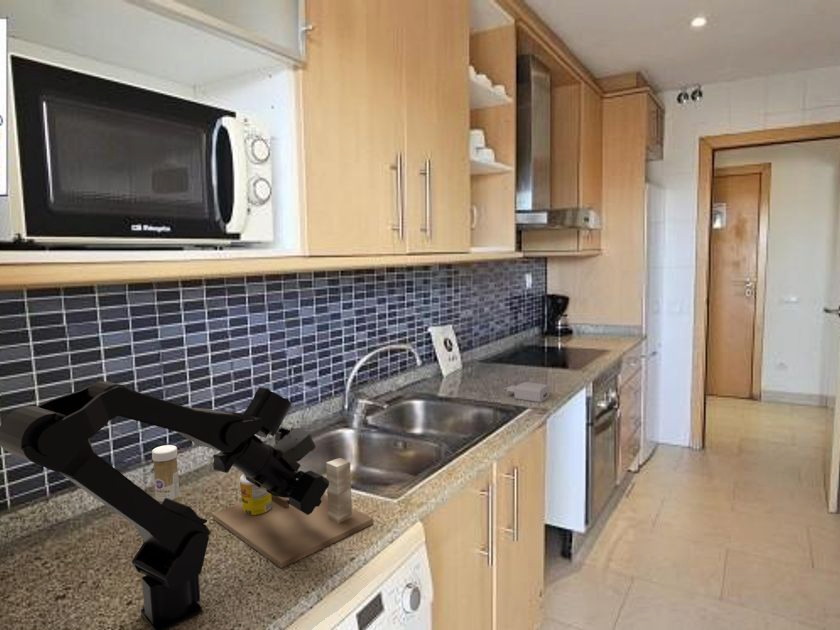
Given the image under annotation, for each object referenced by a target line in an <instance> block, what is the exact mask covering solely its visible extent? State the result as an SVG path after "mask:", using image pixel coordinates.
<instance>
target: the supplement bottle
mask: <svg viewBox="0 0 840 630" xmlns="http://www.w3.org/2000/svg"><path fill="white" fill-rule="evenodd" d="M242 473H243V472H242ZM239 485H240V496H241V503H242V505H243V512H244V514H246V515H250V516H257V515H262V514H265V513H267V512H269V511H270V510H271V509H272V499H271V494H270V493H268V492H267V489H265V488H264V487H262V486H261V487H260V488H259V487H257V486H255V485H254V484H252V483H251V482H249V481H248V480H246V475H244V473H243V474H242V475H241V476H240V478H239Z"/></svg>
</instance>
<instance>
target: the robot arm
mask: <svg viewBox="0 0 840 630" xmlns="http://www.w3.org/2000/svg"><path fill="white" fill-rule="evenodd" d="M292 407H293V405H292V402H290V400H289V399H288V398H286V397H283V396H281V395H279V394H278V393H276V392H274V391H271V389H269V388H268V387H263V386H259V387H258V389H257V390H256V392H255V394H254V396H253V398H252V399H251V401H250V403H249V405H248V406H247V407H246V409H245V410H244V412H243V413H239V412H235V411H234V412H233V411H231V412H226V411H220V410H216V409H211V408H204V407H203V408H200V407H187V406H185V405H180V404H177V403H174V402H171V401H168V400H165V399H161V398H158V397H155V396H152V395H149V394H146V393H142V392H139V391H136V390H133V389H130V388H128V387H127V386H125V385H123V384H121V383H120V384H119V383H115V382H111V381H107V380H106V381H105V380H100V381H97V382H95V383H92V384H90V385H87V386H86V387H84V388H82V389H79V390H77V391H73V392H70V393H67V394H64V395H61V396H57V397H55V398H51V399H49V400H46V401H44V402H42V403H40V404H38V405H36V406H35V405H29V406H22V407H20V408H19V407H18V408H17V409H15V410H13V411H12V412H10V413H9V414H8V415H6V417H5V418H3V420H2V421H1V423H0V447H1V448H2V449H3V450H4V451H5V452H8V453H9V454H12V455H14V456H17V457H19V458H22V459H23V460H26V461H28V462H31V463H34V464H35V465H38V466H40V467H43V468H45V469H48V470H50V471H53V472H55V473H57V474H59V475H62V476H63V477H64V478H66V479H67V480H69V482H71V483H73V484H74V485H76V486H77V487H78V488H80V489H82V490H83V491H84V492H85V493H87V494H89V495H90V496H92V497H93V498H94V499H96V500H97V501H99V502H101V503H102V504H103V505H104V506H106V507H107V508H108V509H111V511H113V512H115V513H116V514H117V515H119V516H120V517H122V518H123V519H124V520H126V521H127V522H129V523H131V524H132V525H133V526H134V527H135V528H136V530H137V532H138V535H139V536H140V538H141V539H142V540H143V543H142V544H141V546H140V547H139V549H138V551H137V552H136V554H135V555H134V557H133V559H132V560H131V564H132V566H133V567H134V570H135V571H136V572H137V573H141V574H143V575H144V576H142V579H141V582H142V595H143V604H144V607H143V608H141V609H140V615H141V616H142V617H143V620H145V621H146V622H147V624H148V625H149V626H150V628H151V629H153V630H169V629H170V628H172V627H174V626H176V625H178V624H180V623H183V622H184V621H187V620H188V619H191V618H192V617H194V616H196V615H199V614H200V613H202V612H203V606H202V605H200V603H199V602H200V601H201V591H200V574H201V573H202V570H203V566H204V561H205V557H206V553H207V548H208V544H209V541H210V540H209V539H210V535H211V531H210V529H209V527H208V526H207V525H206V523H208V519H206V518H204V517H201V516H199V515H198V514H197V513H196V512H195V510H194V509H193V508H192V507H191V506H188V505H187V504H183V503H178V502H176V501H173V500H170V499H168V498H165V499H164V501H163V503H162V504H160V503H159V502H158V501H156V498H154V497H152V495H150V494H148V493H147V492H146V491H145V490H144V489H142V488H141V487H140V486H138V485H137V484H135V483H134V482H133V481H132V480H131V479H129V478H128V477H127V476H125V475H124V474H123V473H122V472H120V471H119V470H117V469H116V468H115V467H114V466H112V465H111V464H110V463H109V462H108V461H106V460H104V458H102V457H100V455H98V454H97V453H96V452H95V450H94V448H93V445H92V443H91V441H90V439H91V438H93V436H95V435H97V434H98V432H100V431H101V430H102V429H103V428H104V427H105V426H106V425H107V424H108V423H109V422H111V421H112V420H113V419H114V418H117V417H121V418H124V419H129V420H133V421H137V422H141V423H144V424H147V425H152V426H153V427H154V426H155V427H159V428H163V429H166V430H171V431H173V432H176V433H178V434H179V435H181V436H182V437H183V438H185V439H186V440H189V441H191V442H192V443H194V444H196V445H198V446H202V447H205V448H207V449H208V448H209V449H212V450H216V451H219V452H218V453H214V454H213V456H212V458H213V465H212V466H213V468H212V469H213V470H214V471H217V472H221V473H225V474H227V473H229V471H230V470H231V468H232V467H234V468H236V469H237V470H238V471H240V472H242V473H244V475H246V480H248V481H249V482H251V483H252V484H254V485H255V486H257V487H259V488H260V487H261V486H262V487H264V488H265V489H267V492H268V493H270V494H272V495H274V496H278V497H285V498H289V501H288V502H287V503H288V504H290V505H291V506H293V507H295V508H296V509H298V510H300V511H301V512H303V513H305V514H307V515H309V514H311V513H312V512H313V510H314V508H315V507H318V506H319V505H320V504H321V502H322V501H321V497H322V496H323V494H325V492H326V491H327V487H328V486H329V481H328V480H327V477H324V476H323V475H321V474H319V473H317V472H315V471H313V470H308V471H302V470H299V469H300V467H301V464H300V463H299V462H300V461H302V459H303V458H304V457H306V456H307V455H308V454H309V453H310V452H313V451H314V450H315V449H316V444H315V442H314V439H313V438H312V435H311V433H310V432H309V431H307V430H305V429H302V428H300V427H291V428H290V429H288V428H286V427H283V426H282V424H283V422H284V420H285V418H286V416H287V415H288V414H289V412H290V410H291V409H292ZM269 435H270V436H272V437H274V439H275V441H274V443H275V445H273V446H271V445H270V444H267V443H266V442H265V441H263V440H262V439H261V438H265V439H266V438H268V436H269ZM259 437H260V438H259ZM298 470H299V471H298Z"/></svg>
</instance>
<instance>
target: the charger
mask: <svg viewBox="0 0 840 630" xmlns="http://www.w3.org/2000/svg"><path fill="white" fill-rule="evenodd" d="M550 387H551V386H550V385H549V384H543V383H537V382H527V381H524V382H521V383H519V384H518V385H512V384H511V385H509V386H506V387H503V390H506V392H507V393H508V394H514V398H515V399H516V400H520V401H521V400H522V401H529V402H535V403H542V402H544V401H545V400H547V399H548V398H550Z"/></svg>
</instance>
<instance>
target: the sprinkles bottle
mask: <svg viewBox="0 0 840 630" xmlns="http://www.w3.org/2000/svg"><path fill="white" fill-rule="evenodd" d="M151 459H152V461H153V462H152V463H153V473H154V495H155V498H154V499H155V500H156V501H158V502H159V503H160V504H162V503H163V501H164V499H165V498H168V499H170V500H173V501H176V502H178V503H180V501H181V500H180V482H179V470H178V447H177V446H176V445H173V444H165V445H161V446H157V447H155V448H153V449H152V450H151Z"/></svg>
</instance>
